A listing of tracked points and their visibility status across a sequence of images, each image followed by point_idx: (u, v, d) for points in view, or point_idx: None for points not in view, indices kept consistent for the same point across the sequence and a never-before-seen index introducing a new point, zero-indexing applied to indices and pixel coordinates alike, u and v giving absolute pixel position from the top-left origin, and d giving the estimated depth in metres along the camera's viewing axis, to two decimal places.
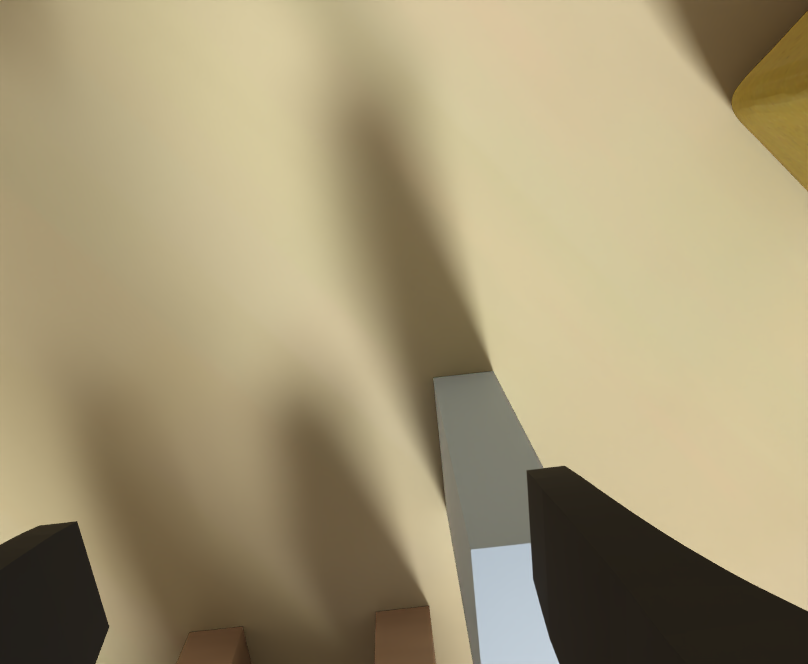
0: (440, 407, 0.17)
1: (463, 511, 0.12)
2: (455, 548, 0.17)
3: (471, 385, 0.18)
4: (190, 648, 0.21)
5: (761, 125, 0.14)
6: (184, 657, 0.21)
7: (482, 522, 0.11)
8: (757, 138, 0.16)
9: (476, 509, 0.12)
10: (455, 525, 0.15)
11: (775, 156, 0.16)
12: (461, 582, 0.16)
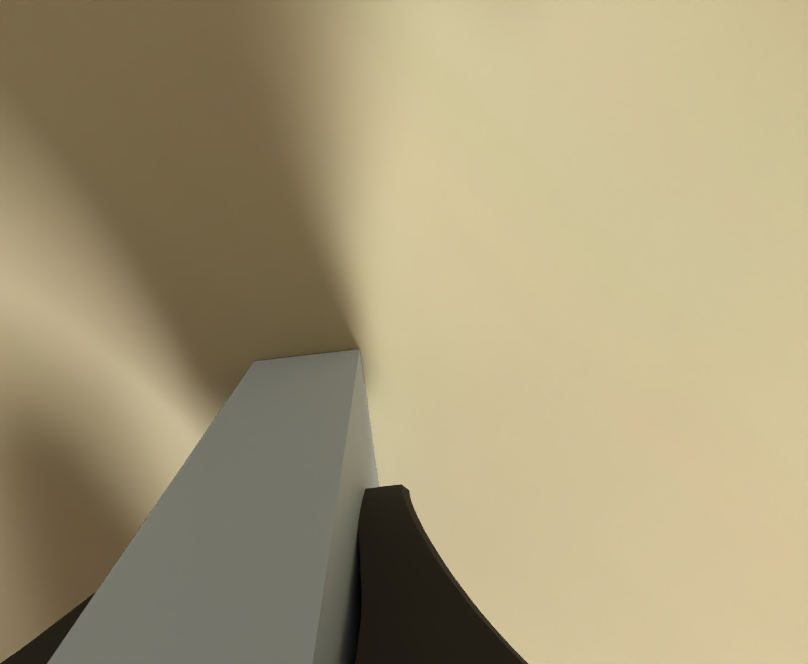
0: (219, 414, 0.09)
1: None
2: None
3: (306, 373, 0.10)
4: None
5: None
6: None
7: None
8: None
9: None
10: None
11: None
12: None
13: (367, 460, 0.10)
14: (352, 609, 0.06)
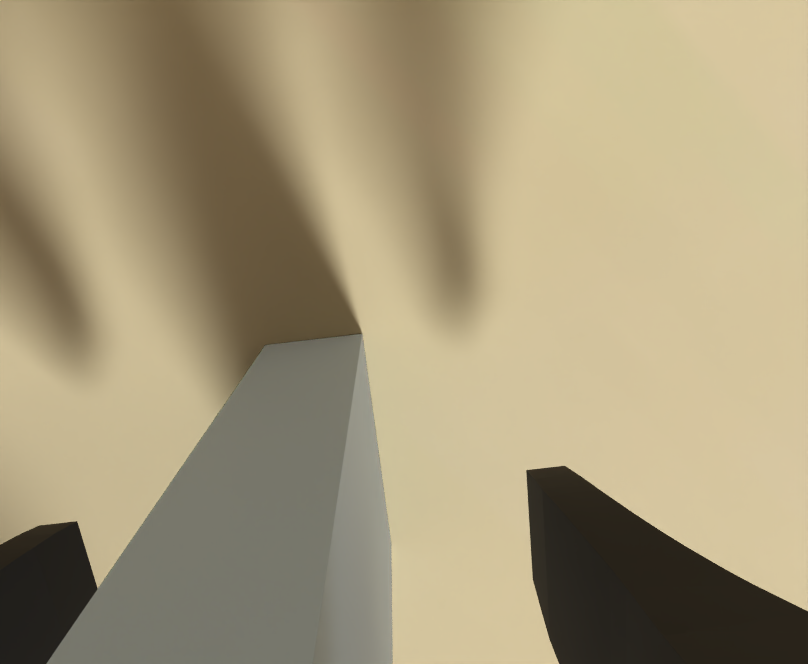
0: (237, 389, 0.10)
1: (65, 640, 0.04)
2: None
3: (314, 354, 0.11)
4: None
5: None
6: None
7: None
8: None
9: (100, 634, 0.05)
10: None
11: None
12: None
13: (369, 433, 0.11)
14: (357, 548, 0.07)
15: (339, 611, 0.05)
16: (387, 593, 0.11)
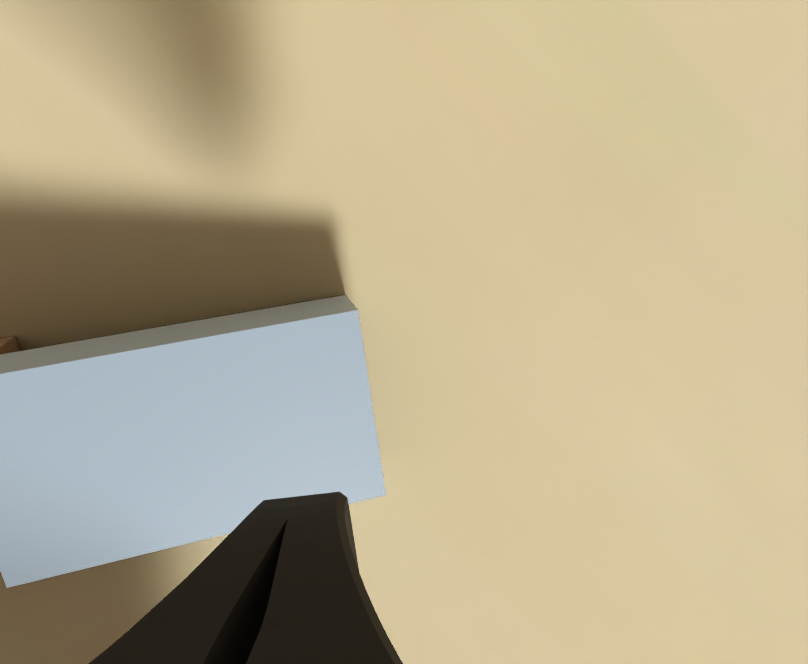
0: (253, 311, 0.15)
1: (30, 349, 0.14)
2: None
3: (310, 310, 0.14)
4: None
5: None
6: None
7: (5, 356, 0.14)
8: None
9: (27, 352, 0.14)
10: None
11: None
12: None
13: (303, 381, 0.14)
14: (133, 404, 0.13)
15: (40, 394, 0.13)
16: (283, 492, 0.15)
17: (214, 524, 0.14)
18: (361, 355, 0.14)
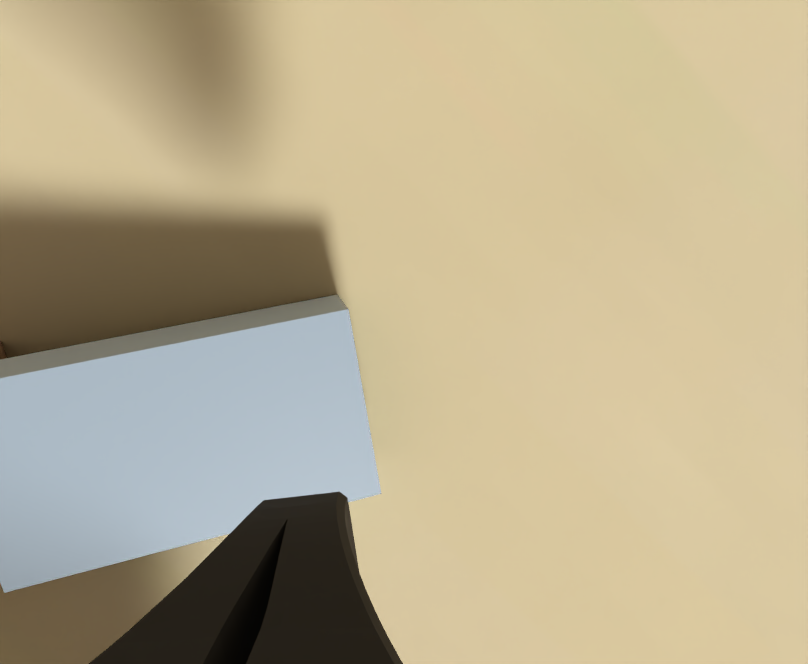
0: (245, 312, 0.15)
1: (24, 355, 0.14)
2: None
3: (301, 310, 0.14)
4: None
5: None
6: None
7: None
8: None
9: (20, 357, 0.14)
10: None
11: None
12: None
13: (295, 382, 0.14)
14: (126, 407, 0.13)
15: (32, 399, 0.13)
16: (278, 493, 0.15)
17: (210, 526, 0.14)
18: (353, 354, 0.14)
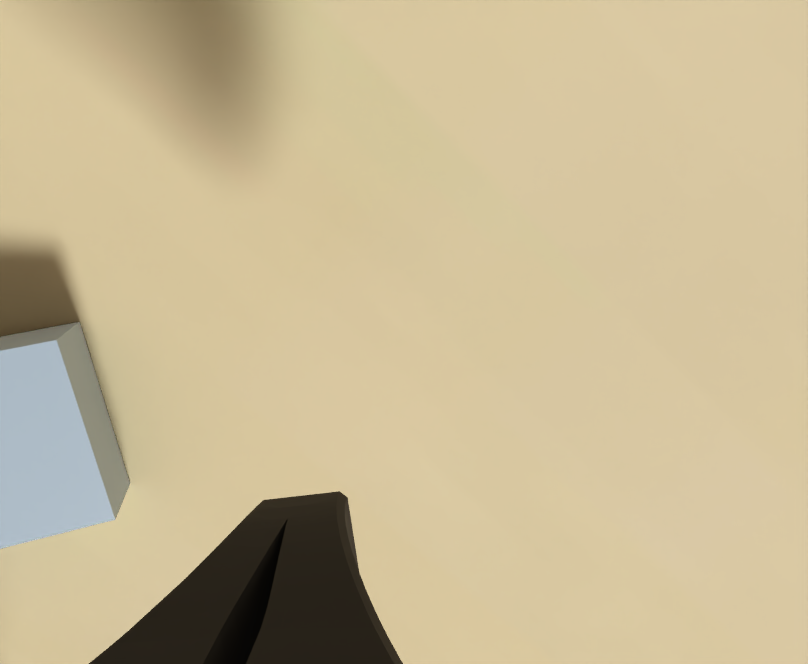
0: None
1: None
2: None
3: (22, 339, 0.15)
4: None
5: None
6: None
7: None
8: None
9: None
10: None
11: None
12: None
13: (6, 412, 0.14)
14: None
15: None
16: (0, 520, 0.15)
17: None
18: (67, 384, 0.14)
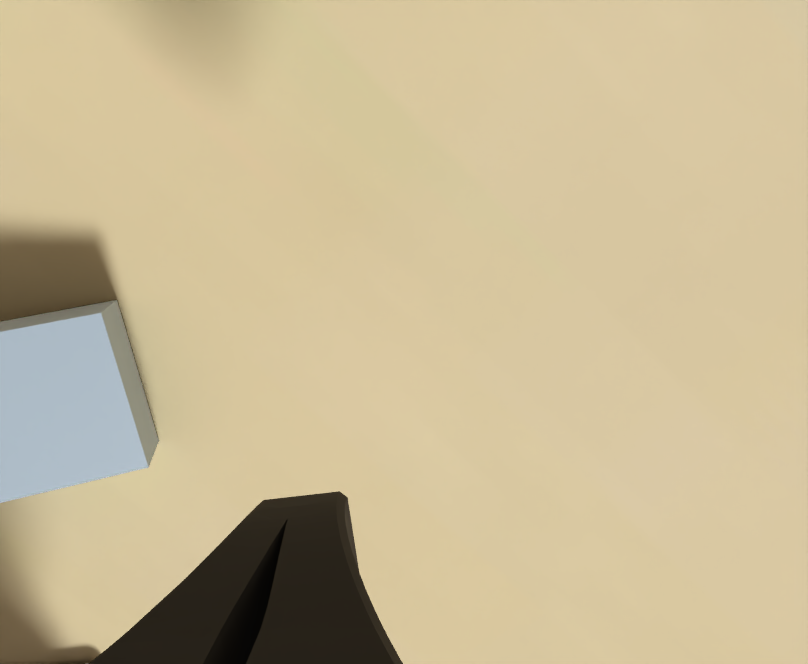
0: (33, 315, 0.18)
1: None
2: None
3: (70, 313, 0.17)
4: None
5: None
6: None
7: None
8: None
9: None
10: None
11: None
12: None
13: (59, 373, 0.17)
14: None
15: None
16: (53, 466, 0.17)
17: None
18: (109, 350, 0.17)
